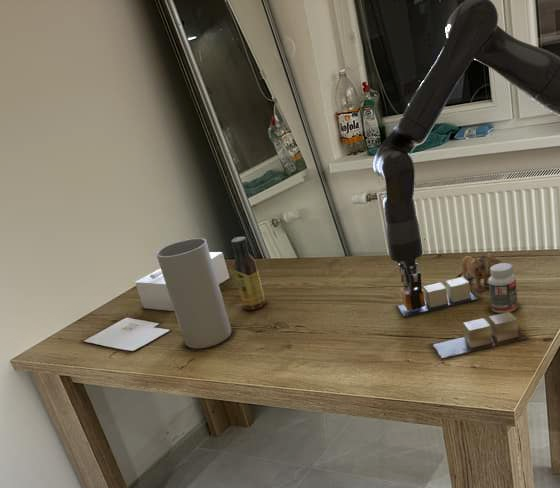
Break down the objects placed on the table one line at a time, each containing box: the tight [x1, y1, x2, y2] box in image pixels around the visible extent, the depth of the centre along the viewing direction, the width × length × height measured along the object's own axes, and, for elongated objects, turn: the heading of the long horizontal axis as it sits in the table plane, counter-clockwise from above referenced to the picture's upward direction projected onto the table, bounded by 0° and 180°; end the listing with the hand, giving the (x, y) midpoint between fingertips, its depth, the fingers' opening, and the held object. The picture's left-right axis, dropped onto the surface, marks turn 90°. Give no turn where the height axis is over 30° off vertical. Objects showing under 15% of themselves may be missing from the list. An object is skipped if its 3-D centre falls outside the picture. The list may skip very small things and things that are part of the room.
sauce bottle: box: [230, 236, 266, 311], centre depth 185 cm, size 7×6×20 cm
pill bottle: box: [488, 262, 518, 314], centre depth 151 cm, size 6×6×10 cm
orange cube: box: [400, 287, 425, 310], centre depth 162 cm, size 4×4×4 cm
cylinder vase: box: [156, 237, 232, 350], centre depth 171 cm, size 12×12×25 cm
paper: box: [83, 317, 170, 352], centre depth 192 cm, size 25×17×1 cm
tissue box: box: [134, 251, 231, 312], centre depth 211 cm, size 14×25×11 cm, turn 142°
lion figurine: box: [456, 253, 502, 292], centre depth 166 cm, size 15×5×9 cm, turn 27°
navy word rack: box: [397, 276, 478, 318], centre depth 163 cm, size 18×7×4 cm, turn 94°
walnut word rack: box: [432, 312, 527, 360], centre depth 141 cm, size 18×7×4 cm, turn 94°
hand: (414, 304), depth 163 cm, fingers closed on orange cube, 4 cm apart
